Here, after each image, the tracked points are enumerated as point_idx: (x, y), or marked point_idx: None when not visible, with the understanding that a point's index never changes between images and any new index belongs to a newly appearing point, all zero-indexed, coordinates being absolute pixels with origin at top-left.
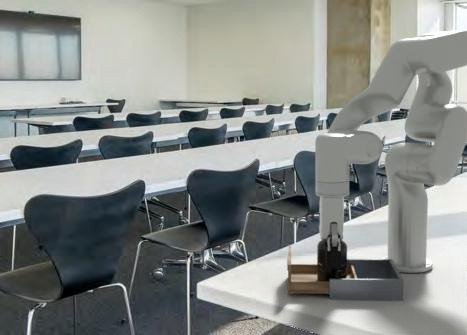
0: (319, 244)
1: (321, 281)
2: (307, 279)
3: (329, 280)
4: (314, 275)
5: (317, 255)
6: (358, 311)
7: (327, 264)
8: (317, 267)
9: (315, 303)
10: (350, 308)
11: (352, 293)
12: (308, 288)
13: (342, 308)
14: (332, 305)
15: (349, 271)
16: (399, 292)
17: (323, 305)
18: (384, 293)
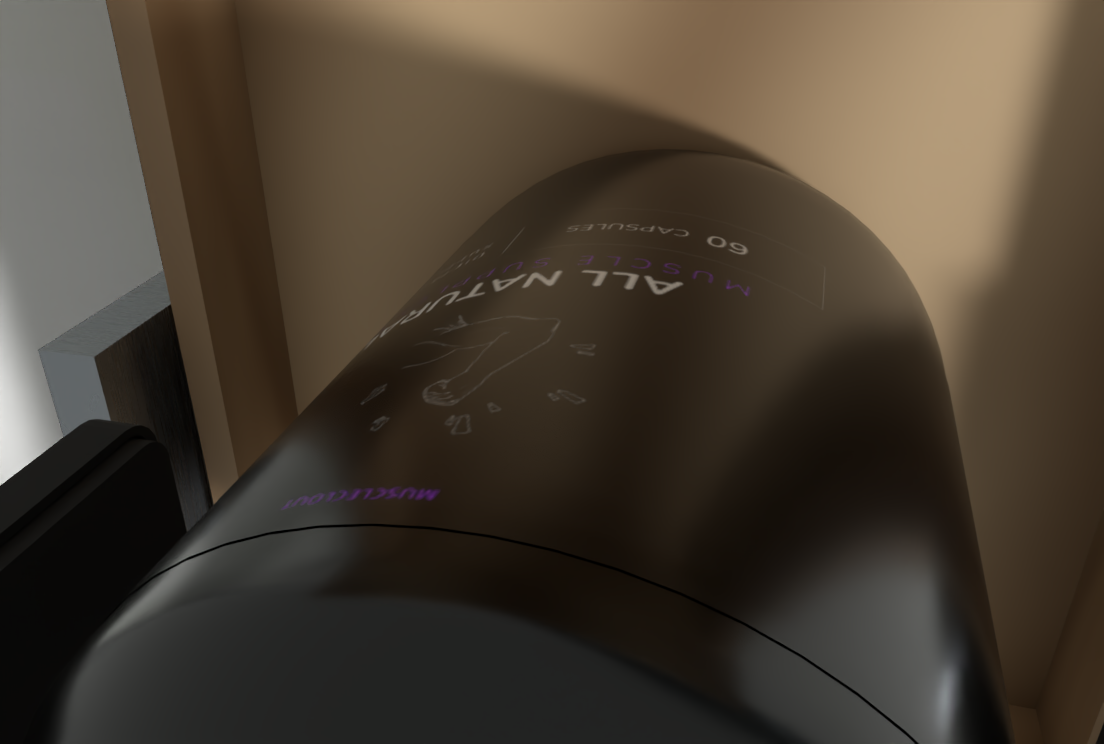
0: (216, 711)
1: (182, 201)
2: None
3: (106, 338)
4: (985, 108)
5: (499, 368)
6: (6, 453)
7: (50, 469)
8: (585, 226)
9: (68, 18)
10: (51, 401)
11: None
12: None
13: (25, 324)
14: (71, 231)
15: (1042, 706)
16: None
17: (38, 121)
18: None
